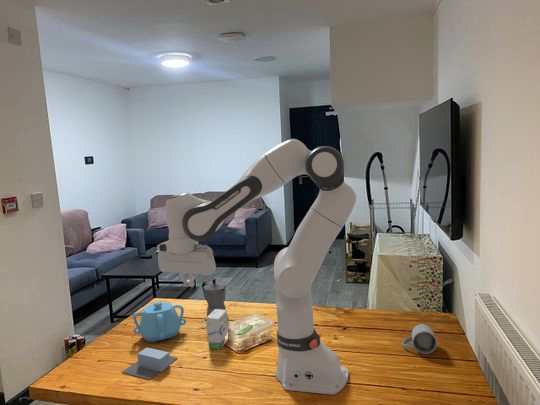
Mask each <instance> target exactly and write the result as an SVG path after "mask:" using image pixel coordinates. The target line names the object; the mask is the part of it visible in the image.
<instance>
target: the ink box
mask: <svg viewBox="0 0 540 405" xmlns="http://www.w3.org/2000/svg"><path fill="white" fill-rule="evenodd" d="M227 315H228V311H227V309H226V310H221V309H215V310H214V311H213V312H212V313H211V314H210V315H208V317H207V316H206V318H205V321H206V330H207V340H208V349H209V350H222V349H223V348H224V346H225V345H224V343H225V336H226V334H227V332H228V331H229V323H228V322H229V318H228V319H227ZM225 344H226V343H225Z"/></svg>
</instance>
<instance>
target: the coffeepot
mask: <svg viewBox="0 0 540 405" xmlns="http://www.w3.org/2000/svg"><path fill="white" fill-rule="evenodd" d="M201 289H202V291H203V295H204V299H205V300H206V303H207V310H206V318H207V317H208V315H210V314H211V313H212V312H213V311H214V310H215V309H221V310H227V308H226V305H225V301H226V289H227V285H226V284H225V283H224V282H217V279H215V278H213V279H211V283H210V282H208V281H203V282H202V283H201ZM227 319H228V320H229V315H228V314H227Z"/></svg>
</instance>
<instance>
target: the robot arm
mask: <svg viewBox="0 0 540 405" xmlns="http://www.w3.org/2000/svg"><path fill="white" fill-rule="evenodd" d="M345 164H346V163H345V159H344V157H343V155H342V154H341V152H340V151H338V149H336V148H335V147H333V146H330V145H329V146H327V145H322V146H317V147H316V148H314V149H313V150H310V149H309V148H307V146H306V144H304V143H303V142H302V141H300V140H299V139H296V138H290V139H288V140H285V141H283V142H281V143H280V144H278V145H276V146H274V147H272V149H269V150H268V151H267V152H265V153H264V154H262V155H261V156H259V158H258V159H256V160H255V161H254V162H253V163H252V164H251V165H250V167H248V169H247V170H246V171H245V172H244V173H243V174H242V175H241V177H240V178H239V179H238V180H237V181H236V183H234V185H232V186H231V187H230V188H229V189H227V190H226V191H224V192H223V193H222V194H221V195H219V196H217V197H216V198H215V199H214V200H211V201H210V200H207V199H202V198H199V197H196V196H194V195H193V194H192V193H190V192H181V193H178V194H175V195H172V196H170V197H168V199H167V200H166V202H165V218H166V225H167V228H168V239H167V240H166V241H164V242H161V243H160V244H157V245H156V250H157V251H158V252H157V263H158V269H159V270H160V272H162V273H168V274H169V273H170V274H171V273H172V274H179V278H180V279H181V281H182V283H183V286H184V287H188V288H189V287H190V288H193V287H194V286H195V279H196V277H197V275H200V276H210V275H213V274H214V273H215V272H216V270H217V267H216V266H217V265H216V261H215V257H214V251H213V249H212V248H211V247H210V246H209V245H207V244H199V242H205V241H208V240H210V239H211V238H212V237H213V235H215V233H216V232H217V231H218V230H219V229H220V228H221V227H222V226H223V225H224V222H225V220H226V219H227V218H228V217H230V216H232V215H233V214H234V213H235V212H237V211H238V210H239V209H241V208H242V207H244V206H245V205H246V204H248V203H251V202H252V201H254V200H257V199H260V198H262V197H265V196H266V195H269V194H271V193H272V192H275V191H277V190H279V189H280V188H282V187H283V186H284V185H286V184H287V183H289V182H290V181H292V180H293V179H295V178H296V177H298V176H300V175H301V176H302V175H306V176H308V177H309V178H310V179H311V180H312V182H313V183H314V184H315V185H316V186H317V187H318V188H319V192H318V194H317V197H316V199H315V200H314V202H313V203H312V205H311V206H310V208H309V210H308V211H307V212H306V215H305V216H304V217H303V219H302V221H301V222H300V223H299V225H298V227H297V228H296V231H295V233H294V235H293V238H292V240H291V241H290V244H288V247H287V246H286V247H284V248H283V249H280V251H279V252H278V253H277V254H276V256H275V257H274V258H275V259H274V261H273V270H274V271H273V275H274V286H275V287H274V288H275V303H276V319H277V321H276V322H277V331H276V343H277V347H278V356H277V357H278V359H277V367H276V371H275V376H276V379H277V380H278V381H279V382H280V383H281V386H282V388H283V390H286V391H292V392H293V391H294V392H303V393H313V394H323V395H336V394H338V393H339V392H340V391H342V390H343V389H344V387H345V386H346V384H347V383H348V380H349V371H348V368H347V367H345V366H342V365H341V360H340V358H339V356H338V354H337V353H336V352H335V351H333V350H332V349H330V348H329V347H328V346H327V345H326V344H324V343H323V342H322V341H321V337H322V331H320V332H319V333H317V331H316V330H315V327H314V326H315V325H314V307H313V298H312V289H311V288H312V284H313V282H314V279H315V278H316V276H317V275H318V272H319V270H320V268H321V266H322V264H323V261H324V260H325V258H326V256H327V254H328V251H329V249H330V247H331V246H332V245H333V243H334V242H335V240H336V238H337V236H338V235H339V234H340V232H341V231H342V229H343V228H344V226H345V224H346V222H347V221H348V219H349V218H350V215H351V213H352V211H353V209H354V207H355V204H356V201H357V195H356V192H355V191H354V189H353V188H352V187H351V186H350V185H348V184H347V183H346V182H345V181H344V177H345V169H346V165H345ZM187 276H188V277H189V278H188V277H187Z"/></svg>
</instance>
